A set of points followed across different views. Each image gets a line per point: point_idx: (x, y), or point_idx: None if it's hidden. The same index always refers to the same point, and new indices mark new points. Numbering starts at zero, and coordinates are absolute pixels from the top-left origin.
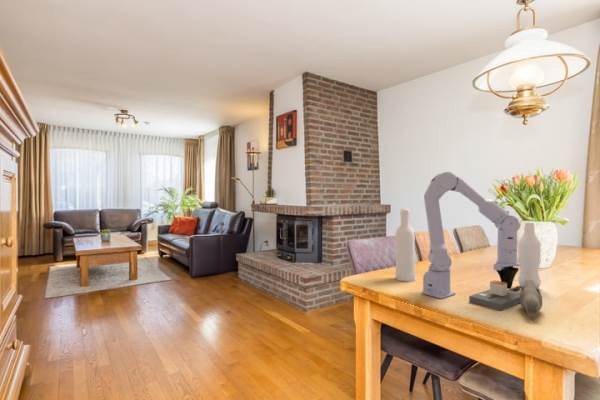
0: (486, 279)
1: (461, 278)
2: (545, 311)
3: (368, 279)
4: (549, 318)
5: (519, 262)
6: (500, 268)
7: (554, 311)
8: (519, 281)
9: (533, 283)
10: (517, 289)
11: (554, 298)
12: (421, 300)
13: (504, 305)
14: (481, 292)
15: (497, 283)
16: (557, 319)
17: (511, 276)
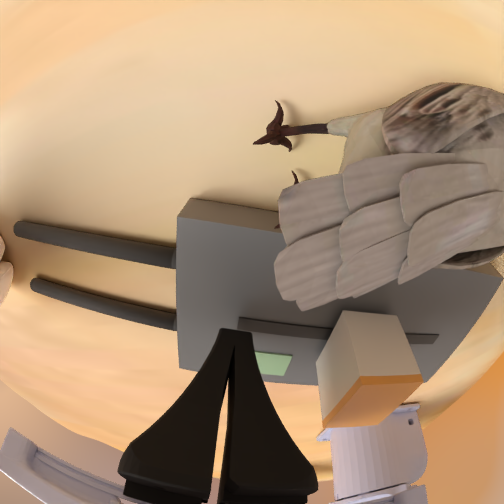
0: (54, 369)
1: (120, 415)
2: (390, 62)
3: (323, 475)
4: (487, 63)
5: (4, 449)
6: (421, 500)
7: (345, 14)
8: (4, 298)
9: (403, 194)
10: (49, 282)
11: (32, 104)
12: (441, 407)
13: (479, 266)
14: None
15: (403, 399)
16: (475, 29)
17: (264, 425)
